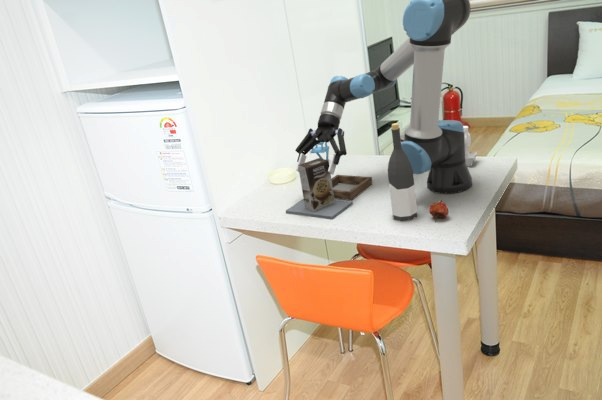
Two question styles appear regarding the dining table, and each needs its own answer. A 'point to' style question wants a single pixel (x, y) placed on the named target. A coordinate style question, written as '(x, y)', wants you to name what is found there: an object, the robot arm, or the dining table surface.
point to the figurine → (467, 140)
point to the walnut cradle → (358, 180)
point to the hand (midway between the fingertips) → (314, 172)
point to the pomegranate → (438, 210)
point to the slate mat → (326, 212)
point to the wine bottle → (401, 181)
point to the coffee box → (316, 184)
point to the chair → (321, 150)
